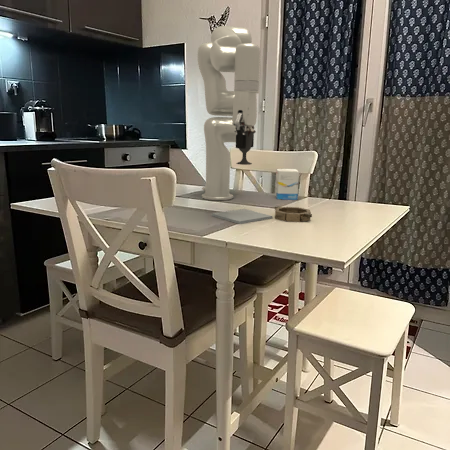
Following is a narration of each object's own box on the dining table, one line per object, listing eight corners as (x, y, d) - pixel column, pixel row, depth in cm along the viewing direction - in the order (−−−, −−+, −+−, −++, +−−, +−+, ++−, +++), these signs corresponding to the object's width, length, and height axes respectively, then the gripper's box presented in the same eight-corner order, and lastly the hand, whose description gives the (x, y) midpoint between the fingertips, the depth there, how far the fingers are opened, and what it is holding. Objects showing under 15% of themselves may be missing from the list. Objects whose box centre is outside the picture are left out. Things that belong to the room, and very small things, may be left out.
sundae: (238, 165, 133) (239, 114, 129) (230, 162, 139) (231, 114, 135) (258, 164, 135) (259, 115, 131) (249, 162, 141) (251, 115, 137)
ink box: (297, 200, 174) (299, 170, 171) (276, 199, 174) (278, 170, 171) (294, 196, 182) (296, 168, 179) (274, 196, 182) (276, 168, 179)
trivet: (211, 215, 142) (211, 213, 142) (244, 211, 150) (244, 208, 150) (239, 224, 131) (239, 221, 131) (272, 218, 140) (272, 216, 139)
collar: (264, 215, 143) (264, 208, 143) (287, 212, 150) (288, 204, 149) (297, 224, 132) (297, 216, 131) (321, 220, 139) (322, 212, 138)
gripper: (244, 89, 140) (242, 145, 145) (224, 86, 125) (223, 148, 129) (266, 89, 138) (264, 146, 142) (249, 85, 122) (247, 150, 127)
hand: (244, 147), depth 136 cm, fingers closed on sundae, 6 cm apart
